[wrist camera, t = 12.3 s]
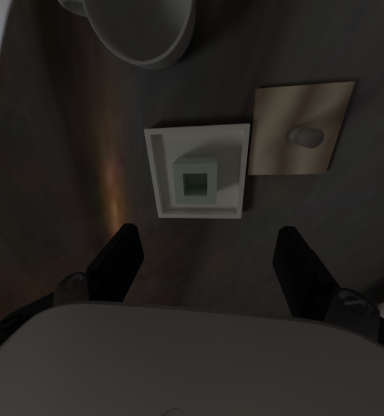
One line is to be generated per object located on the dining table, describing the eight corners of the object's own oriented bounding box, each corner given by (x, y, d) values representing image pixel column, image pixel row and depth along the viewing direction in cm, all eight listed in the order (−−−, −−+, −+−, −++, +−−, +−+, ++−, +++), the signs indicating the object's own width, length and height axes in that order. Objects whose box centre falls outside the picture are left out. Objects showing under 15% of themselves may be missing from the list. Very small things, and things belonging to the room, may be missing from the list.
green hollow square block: (216, 156, 28) (217, 163, 24) (215, 192, 31) (216, 204, 27) (178, 157, 29) (172, 164, 24) (181, 192, 32) (175, 204, 27)
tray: (247, 123, 26) (250, 123, 24) (239, 212, 33) (241, 218, 31) (148, 128, 28) (144, 129, 26) (161, 212, 35) (158, 217, 33)
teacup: (210, -24, 19) (209, -105, 12) (188, 88, 25) (179, 76, 18) (91, -61, 19) (21, -165, 12) (94, 61, 24) (47, 37, 17)
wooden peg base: (349, 82, 22) (396, 70, 17) (321, 172, 28) (350, 185, 22) (255, 89, 24) (269, 80, 18) (246, 173, 29) (255, 186, 24)
